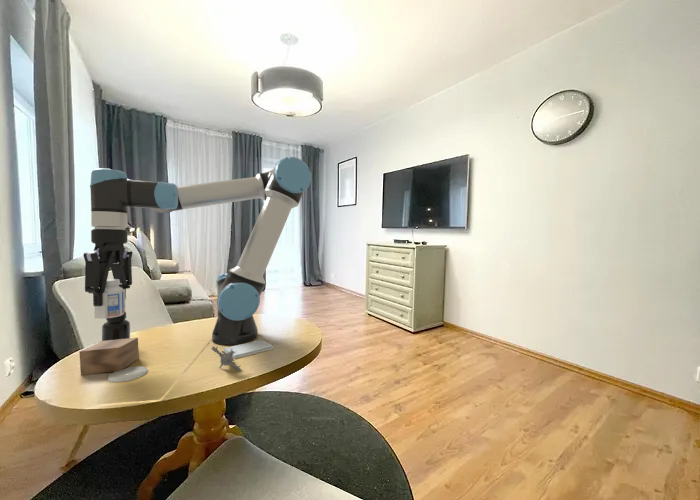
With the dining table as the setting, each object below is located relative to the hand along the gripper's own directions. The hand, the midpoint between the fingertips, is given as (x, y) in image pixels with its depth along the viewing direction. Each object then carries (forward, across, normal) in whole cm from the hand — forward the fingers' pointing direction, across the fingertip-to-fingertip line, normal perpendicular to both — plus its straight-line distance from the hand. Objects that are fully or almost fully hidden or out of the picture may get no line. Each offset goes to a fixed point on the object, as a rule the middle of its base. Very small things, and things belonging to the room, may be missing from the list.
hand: (110, 314), depth 79 cm
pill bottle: (+1, 0, 0) cm, 1 cm away
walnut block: (+14, 0, 0) cm, 14 cm away
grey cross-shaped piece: (+15, 0, +31) cm, 34 cm away
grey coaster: (+14, +5, +8) cm, 17 cm away
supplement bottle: (+15, -12, -8) cm, 20 cm away
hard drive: (+15, -13, +32) cm, 38 cm away
